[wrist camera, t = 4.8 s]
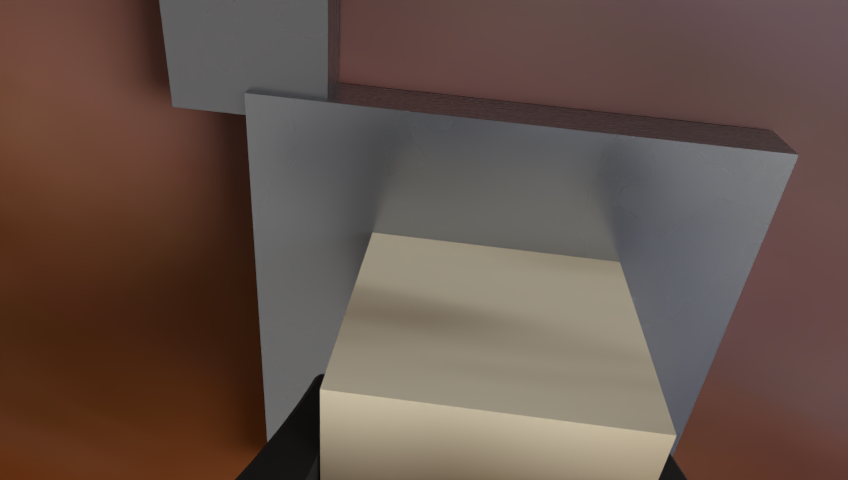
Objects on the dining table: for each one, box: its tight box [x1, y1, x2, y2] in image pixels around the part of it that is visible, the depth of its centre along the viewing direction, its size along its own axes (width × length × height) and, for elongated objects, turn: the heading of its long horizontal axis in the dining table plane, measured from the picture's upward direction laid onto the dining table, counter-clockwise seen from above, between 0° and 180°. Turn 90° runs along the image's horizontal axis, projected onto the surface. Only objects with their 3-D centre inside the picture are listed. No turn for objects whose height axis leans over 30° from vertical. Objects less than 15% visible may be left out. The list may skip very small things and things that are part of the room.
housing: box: [320, 232, 677, 480], centre depth 12 cm, size 5×5×6 cm
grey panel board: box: [159, 0, 798, 457], centre depth 10 cm, size 19×12×7 cm, turn 175°
